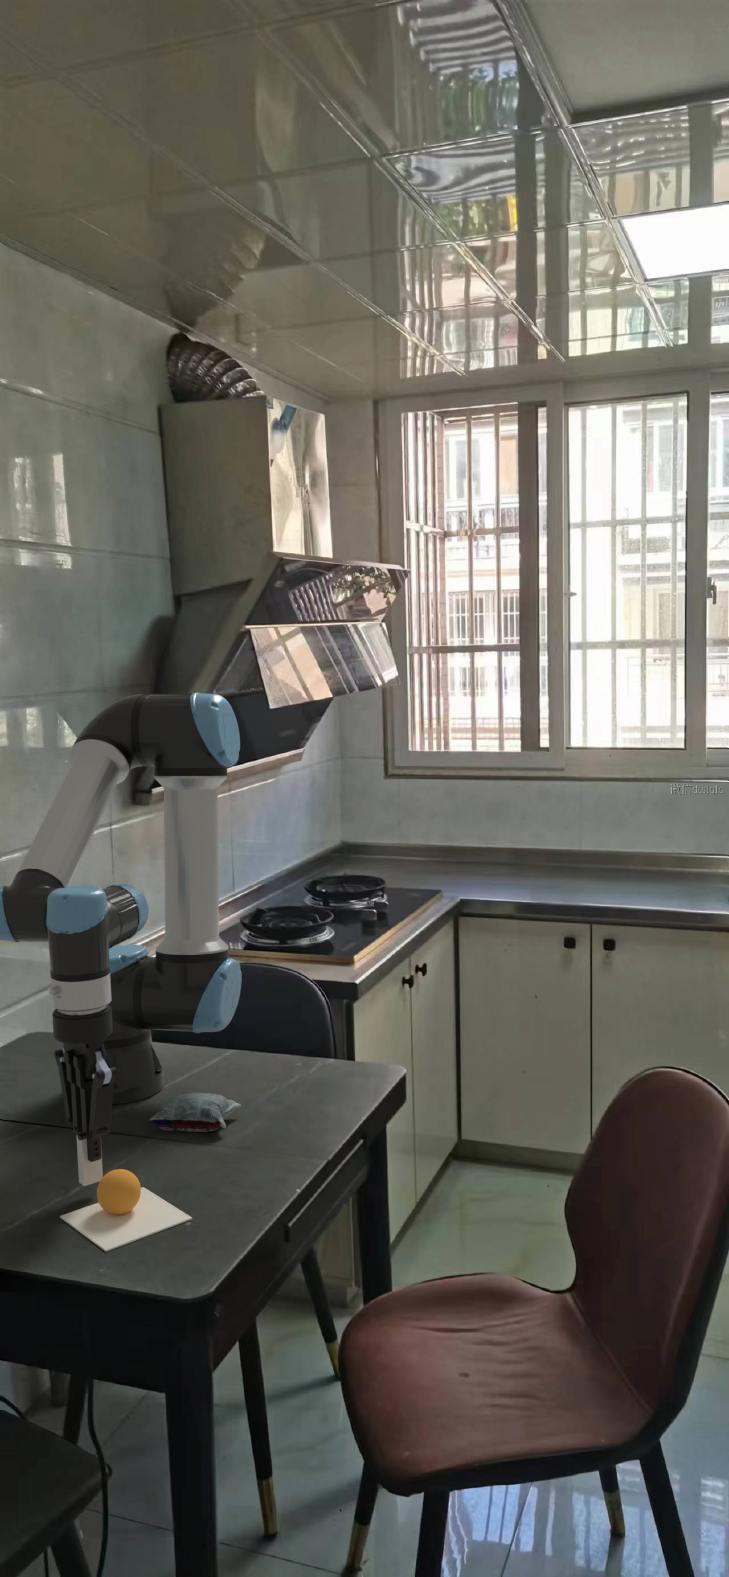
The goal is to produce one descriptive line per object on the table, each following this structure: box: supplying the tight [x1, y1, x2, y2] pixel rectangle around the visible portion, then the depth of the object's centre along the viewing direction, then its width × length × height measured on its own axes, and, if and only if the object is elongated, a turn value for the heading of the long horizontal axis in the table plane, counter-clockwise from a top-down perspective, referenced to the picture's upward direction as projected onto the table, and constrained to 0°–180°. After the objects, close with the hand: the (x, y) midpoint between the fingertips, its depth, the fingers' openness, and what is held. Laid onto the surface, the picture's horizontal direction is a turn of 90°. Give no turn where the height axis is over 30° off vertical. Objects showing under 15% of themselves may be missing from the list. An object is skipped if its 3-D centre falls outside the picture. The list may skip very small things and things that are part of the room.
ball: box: [96, 1168, 142, 1215], centre depth 150 cm, size 6×6×6 cm
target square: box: [59, 1186, 193, 1253], centre depth 149 cm, size 12×12×1 cm
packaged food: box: [148, 1091, 242, 1133], centre depth 179 cm, size 9×12×5 cm
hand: (91, 1181), depth 156 cm, fingers closed
